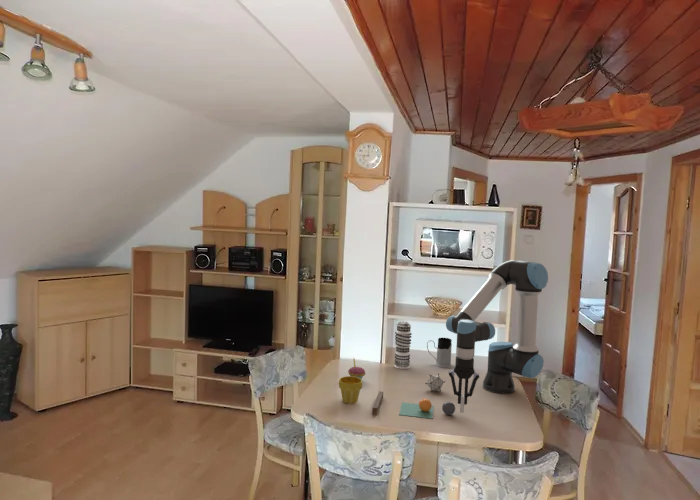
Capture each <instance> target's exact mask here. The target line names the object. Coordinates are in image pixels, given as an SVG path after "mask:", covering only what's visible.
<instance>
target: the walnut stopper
mask: <svg viewBox="0 0 700 500" xmlns="http://www.w3.org/2000/svg"><path fill="white" fill-rule="evenodd" d="M383 399H384V391H382V390H381V391H379V390H378V393H377V396H376V399H375V400H374V403H373V406H372V410H371V414H372V416H378V413H379V410H380V408H381V405H382V402H383Z"/></svg>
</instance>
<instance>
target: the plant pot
mask: <svg viewBox="0 0 700 500" xmlns="http://www.w3.org/2000/svg"><path fill="white" fill-rule="evenodd" d="M338 388H339V389H340V392H341V393H340V394H341V398H342V399H341V400H342V402H343V403H345V404H351V405H352V404H356V403H357V402H358V401H359V395H360V391H361V390H362V388H363V378H362V379H360V378H358V377H354V376H350V375H348V376H346V375H345V376H342V377H340V378H339V380H338Z"/></svg>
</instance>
